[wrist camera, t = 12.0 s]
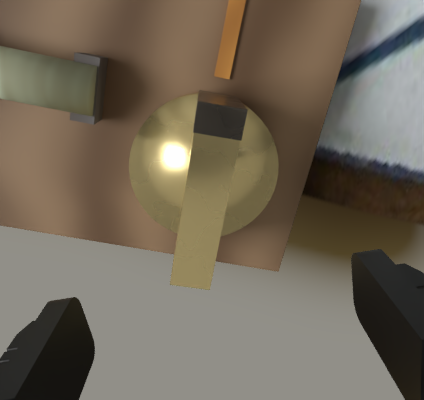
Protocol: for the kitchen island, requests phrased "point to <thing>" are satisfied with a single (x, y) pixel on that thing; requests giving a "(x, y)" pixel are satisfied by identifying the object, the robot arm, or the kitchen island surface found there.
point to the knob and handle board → (155, 105)
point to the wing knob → (202, 175)
